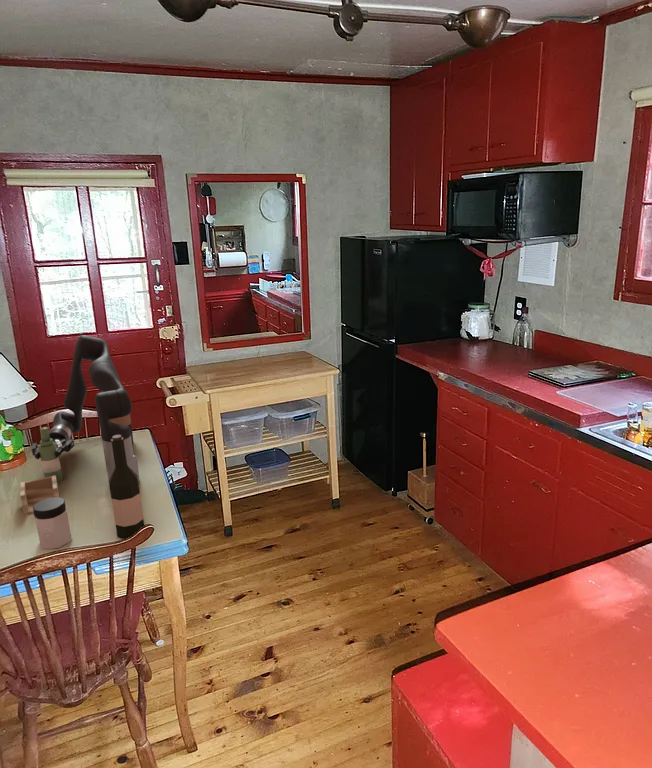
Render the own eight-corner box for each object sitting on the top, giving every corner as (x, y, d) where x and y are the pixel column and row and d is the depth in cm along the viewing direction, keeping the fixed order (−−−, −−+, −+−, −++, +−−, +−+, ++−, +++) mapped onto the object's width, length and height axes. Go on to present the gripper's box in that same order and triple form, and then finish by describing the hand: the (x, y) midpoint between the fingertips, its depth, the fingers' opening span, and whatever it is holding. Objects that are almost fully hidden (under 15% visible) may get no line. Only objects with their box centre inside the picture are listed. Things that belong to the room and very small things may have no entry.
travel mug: (129, 438, 235) (122, 392, 230) (137, 443, 230) (130, 396, 224) (111, 444, 231) (103, 397, 225) (118, 449, 225) (111, 401, 219)
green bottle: (66, 478, 201) (56, 426, 195) (54, 486, 196) (44, 432, 190) (53, 477, 203) (43, 424, 197) (41, 484, 198) (30, 430, 192)
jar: (33, 550, 158) (25, 512, 155) (45, 534, 166) (38, 497, 163) (66, 548, 159) (59, 510, 155) (77, 532, 167) (70, 496, 163)
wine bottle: (140, 539, 162) (126, 441, 153) (111, 539, 162) (95, 442, 153) (149, 523, 170) (136, 430, 161) (122, 524, 170) (107, 431, 161)
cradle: (24, 500, 186) (20, 482, 185) (58, 493, 191) (55, 475, 189) (24, 514, 178) (20, 496, 176) (60, 506, 182) (57, 487, 180)
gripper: (35, 430, 207) (22, 447, 191) (77, 425, 210) (67, 443, 194) (39, 449, 209) (26, 468, 193) (80, 444, 212) (71, 463, 196)
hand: (46, 455), depth 194 cm, fingers closed on green bottle, 5 cm apart
